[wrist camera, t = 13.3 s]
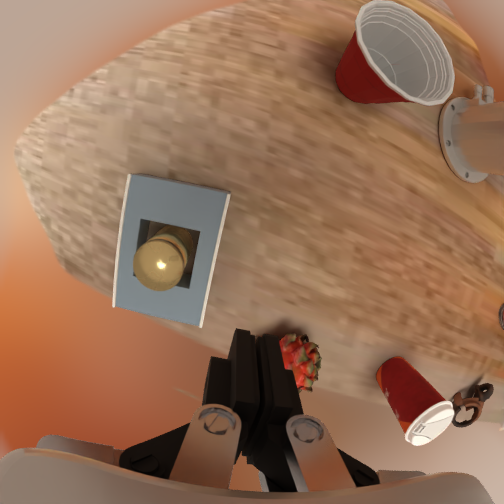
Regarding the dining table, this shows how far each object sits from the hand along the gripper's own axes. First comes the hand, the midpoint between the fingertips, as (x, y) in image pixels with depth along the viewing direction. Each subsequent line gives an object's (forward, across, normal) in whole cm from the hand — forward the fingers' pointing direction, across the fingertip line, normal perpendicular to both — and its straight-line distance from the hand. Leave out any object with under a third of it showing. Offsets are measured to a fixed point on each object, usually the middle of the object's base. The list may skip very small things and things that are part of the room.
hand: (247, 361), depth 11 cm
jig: (+21, +7, +3) cm, 23 cm away
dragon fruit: (+22, -8, +15) cm, 27 cm away
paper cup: (+22, -28, +16) cm, 39 cm away
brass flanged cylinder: (+21, +7, +3) cm, 23 cm away
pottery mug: (+23, -56, +23) cm, 65 cm away
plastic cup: (+23, -8, -21) cm, 32 cm away
